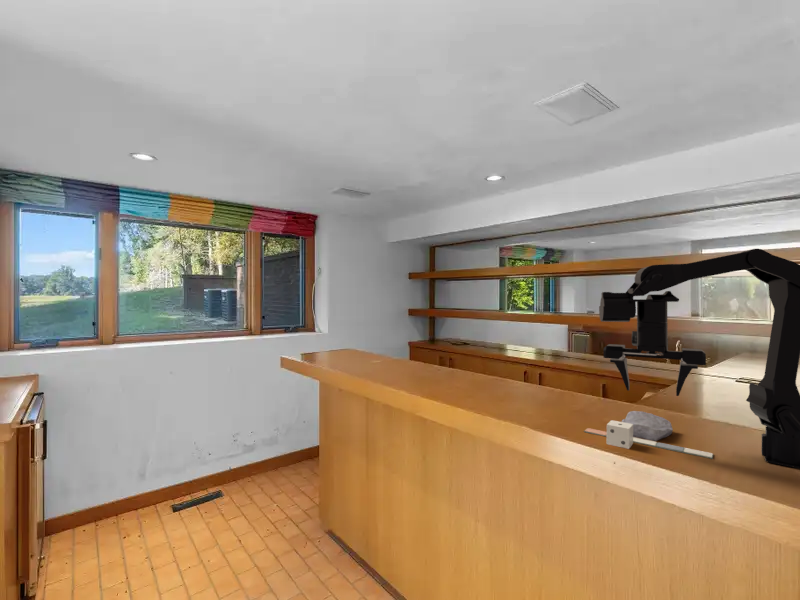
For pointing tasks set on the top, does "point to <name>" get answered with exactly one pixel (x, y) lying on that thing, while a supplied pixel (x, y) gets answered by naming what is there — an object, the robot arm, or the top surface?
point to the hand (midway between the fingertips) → (652, 392)
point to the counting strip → (658, 445)
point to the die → (619, 434)
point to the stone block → (648, 425)
